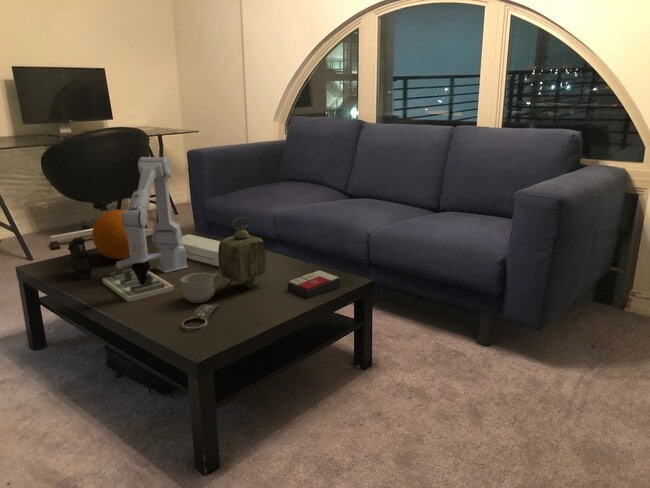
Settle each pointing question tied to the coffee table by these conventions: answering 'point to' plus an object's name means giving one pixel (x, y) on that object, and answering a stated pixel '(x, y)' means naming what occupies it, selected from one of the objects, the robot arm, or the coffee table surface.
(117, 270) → the block
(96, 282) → the coffee table surface
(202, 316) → the metal bottle opener
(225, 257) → the tabletop clock
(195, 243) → the laminator
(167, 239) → the robot arm
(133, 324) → the coffee table surface
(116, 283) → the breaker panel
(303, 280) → the red white labeled box
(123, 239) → the decorative sphere
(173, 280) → the coffee table surface
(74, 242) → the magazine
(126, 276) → the breaker mid
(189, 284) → the teacup
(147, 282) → the breaker
